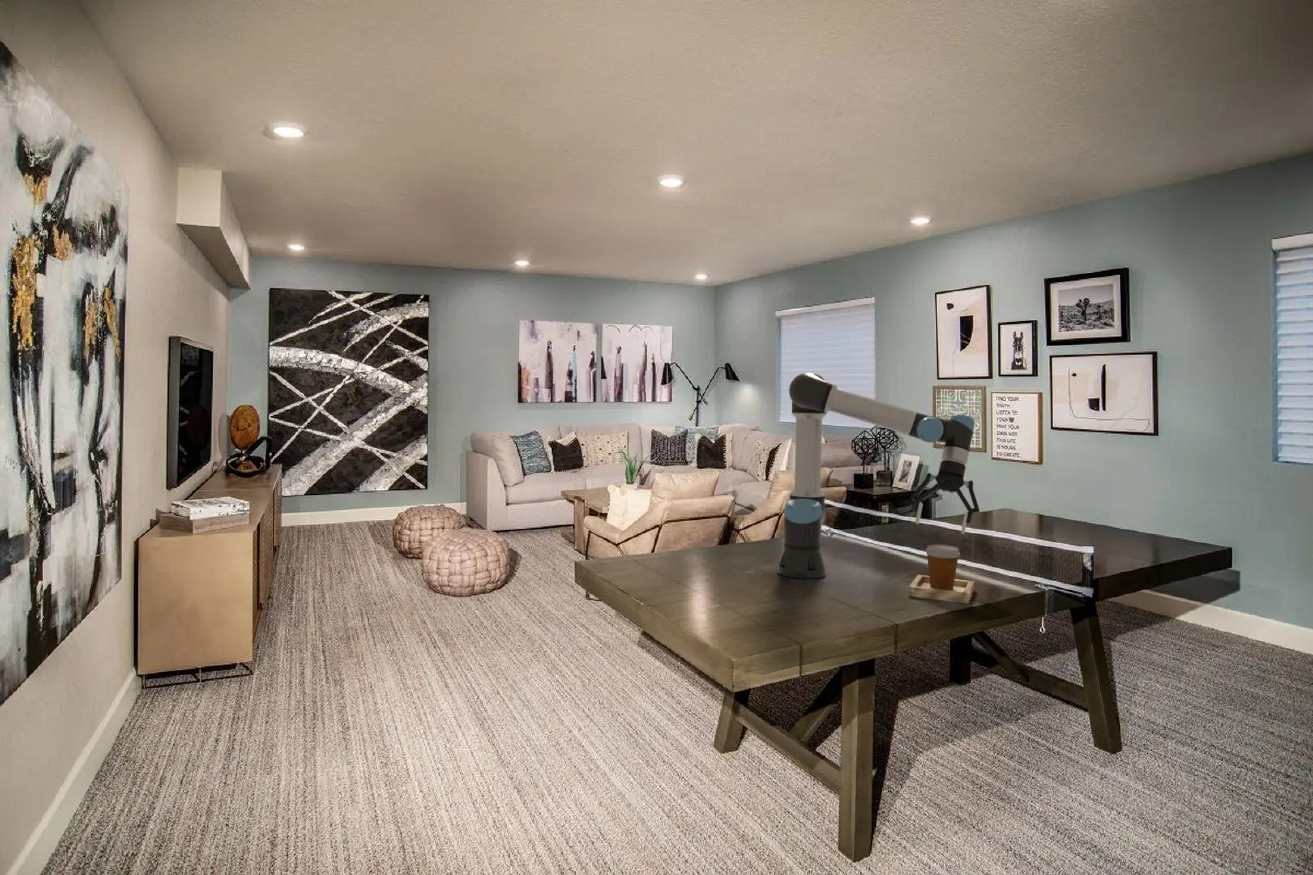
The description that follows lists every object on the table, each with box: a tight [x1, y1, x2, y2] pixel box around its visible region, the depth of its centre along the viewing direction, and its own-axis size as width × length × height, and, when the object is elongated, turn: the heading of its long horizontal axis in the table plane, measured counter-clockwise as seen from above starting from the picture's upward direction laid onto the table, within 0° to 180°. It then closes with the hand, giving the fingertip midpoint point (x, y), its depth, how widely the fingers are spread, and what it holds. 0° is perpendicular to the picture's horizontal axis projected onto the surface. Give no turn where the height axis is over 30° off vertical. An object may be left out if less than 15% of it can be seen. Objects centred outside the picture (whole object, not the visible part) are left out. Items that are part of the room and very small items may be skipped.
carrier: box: [908, 574, 975, 605], centre depth 218 cm, size 16×16×3 cm
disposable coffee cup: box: [925, 544, 961, 590], centre depth 218 cm, size 10×10×12 cm
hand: (939, 528), depth 230 cm, fingers open, 13 cm apart
